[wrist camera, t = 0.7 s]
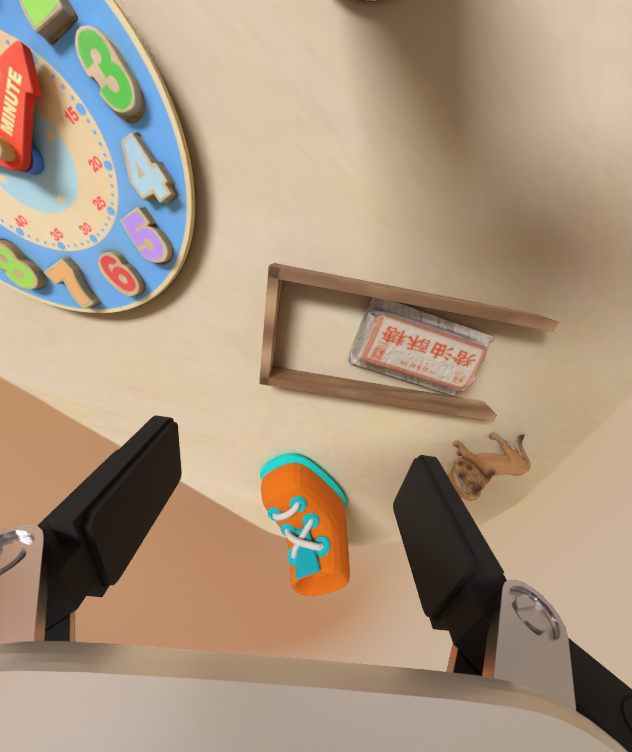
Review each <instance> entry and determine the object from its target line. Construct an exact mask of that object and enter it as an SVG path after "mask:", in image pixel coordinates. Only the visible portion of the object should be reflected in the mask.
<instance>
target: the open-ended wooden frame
mask: <svg viewBox="0 0 632 752" xmlns="http://www.w3.org/2000/svg"><path fill="white" fill-rule="evenodd" d="M282 280H286V281H291V282H296V283H301V284H307V285H312V286H317V287H322V288H328V289H333V290H338V291H343V292H348V293H354V294H359V295H364V296H369V297H375V298H380V299H385V300H390V301H395V302H401V303H406V304H411V305H416V306H422V307H427V308H432V309H437V310H443V311H448V312H453V313H458V314H463V315H469V316H474V317H479V318H484V319H490V320H495V321H500V322H505V323H511V324H516V325H521V326H526V327H531V328H537V329H542V330H547V331H552V332H553V331H554V330H555V328H556V327H557V325H558V324H559V322H557V321H555V320H552V319H549V318H546V317H543V316H540V315H537V314H532V313H527V312H521V311H516V310H511V309H506V308H501V307H496V306H491V305H486V304H481V303H475V302H470V301H465V300H460V299H455V298H450V297H445V296H440V295H435V294H429V293H424V292H419V291H414V290H409V289H404V288H399V287H394V286H389V285H383V284H378V283H373V282H368V281H363V280H358V279H353V278H348V277H343V276H337V275H332V274H327V273H322V272H317V271H312V270H307V269H302V268H297V267H291V266H286V265H281V264H276V263H273V264H271V265H269V270H268V282H267V295H266V308H265V320H264V333H263V346H262V358H261V371H260V384H263V385H269V386H275V387H281V388H288V389H294V390H300V391H306V392H313V393H319V394H325V395H331V396H338V397H344V398H350V399H356V400H363V401H369V402H375V403H381V404H388V405H394V406H400V407H406V408H413V409H419V410H425V411H431V412H438V413H444V414H450V415H456V416H463V417H469V418H475V419H481V420H488V421H494V419H495V418H496V416H497V414H496V413H495V412H494V411H493V410H492V409H491V408H490V407H489V406H487V405H486V404H485V403H484V402H483V401H477V400H471V399H465V398H459V397H453V396H447V395H441V394H435V393H429V392H423V391H417V390H411V389H405V388H399V387H393V386H387V385H381V384H375V383H369V382H363V381H357V380H351V379H345V378H339V377H333V376H326V375H320V374H314V373H308V372H302V371H296V370H290V369H284V368H278V367H273V362H274V353H275V344H276V334H277V325H278V315H279V306H280V296H281V287H282Z"/></svg>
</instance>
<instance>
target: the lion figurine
mask: <svg viewBox="0 0 632 752" xmlns="http://www.w3.org/2000/svg"><path fill="white" fill-rule="evenodd" d="M524 436H525V435H524V434H523V435H520V436H519V437H518V445H519V448H520V451H521V454H522V456H523V457H522V456H520V455H519V452H518V450H517V448H516V447H515V445H514V444H512V443H507V441H506V440H504V439H503V438H501V437H500V436H499V435H498V434H496V433H491V434H490V436H489V437H490V438H491V439H496V440H498V441H499V442H500V443H501V444H502V446H503V450H504V453H505V456H501V455H497V454H493V453H483V454H479V455H476V456H474V455H473V454H472V453H470V452H469V451H468V450H467V449H466V448H465V446H464V445H463V444H462V443H461V442H459V441H454V442H453V446H455V447H457V448H459V449H460V450H459V451H457V455H458V456H463V457H462V458H461V459H459V460H457V461H455V462H454V467H453V469H452V471H451V473H450V477H449V478H450V481H451V483H452V484H453V486H454V488H455V489H456V491H457V493H458V495H459V496H460V497H462V498H463V499H467V500H469V501H472V500H475V499H477V498H478V497H479V496H480V493H481V490H482V489H483V488H484V486H485V484H486V483H488V482H489V481H490V479H491V478H492V476H495V475H500V474H510V475H522V474H524V473H525V472H527V471H529V469H530V466H531V465H530V461H529V459H528V457H527V455H526V453H525V451H524V449H523V447H522V440H523V439H524Z"/></svg>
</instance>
